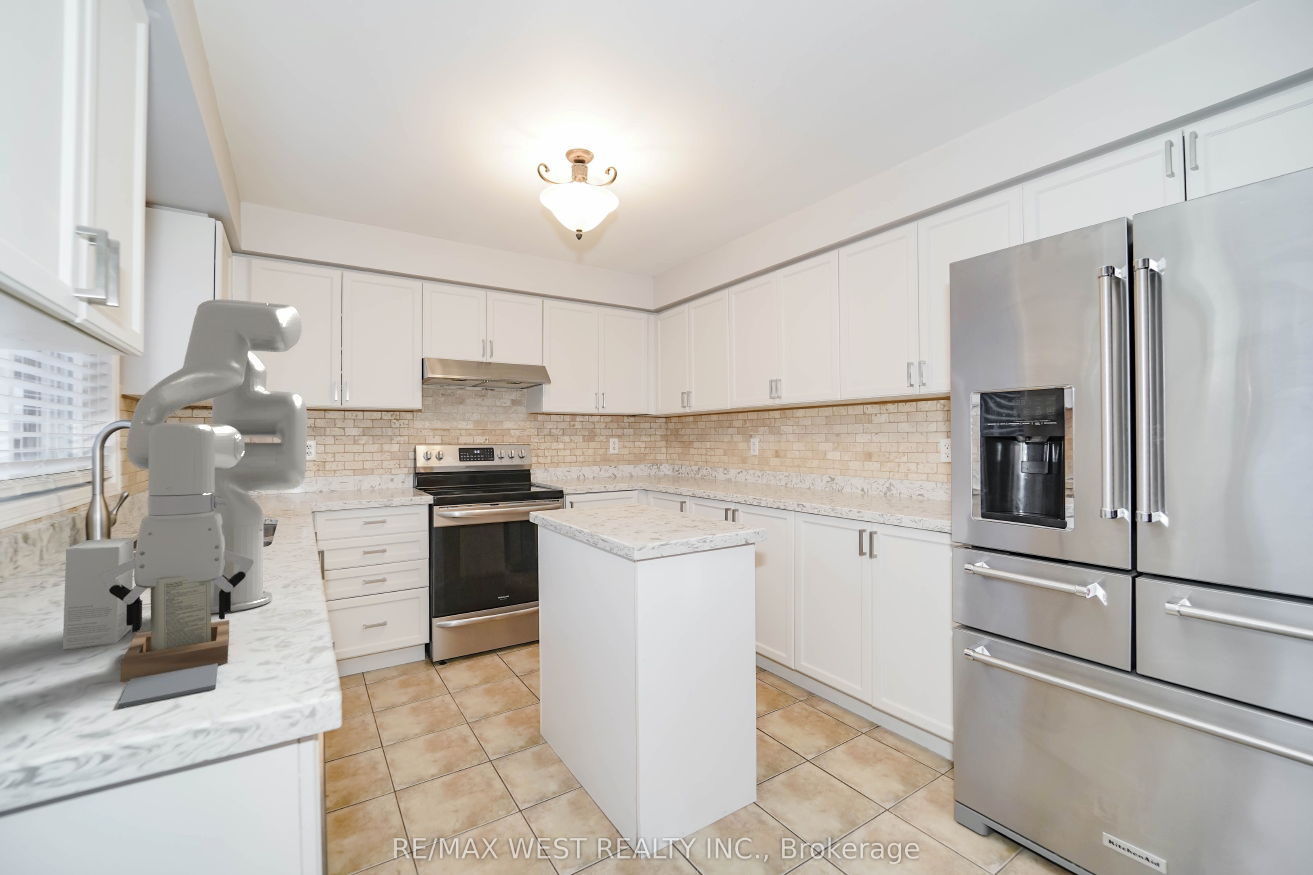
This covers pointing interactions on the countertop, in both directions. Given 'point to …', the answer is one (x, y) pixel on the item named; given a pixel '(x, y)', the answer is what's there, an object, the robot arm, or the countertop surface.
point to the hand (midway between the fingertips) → (181, 623)
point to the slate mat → (169, 685)
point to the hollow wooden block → (174, 654)
